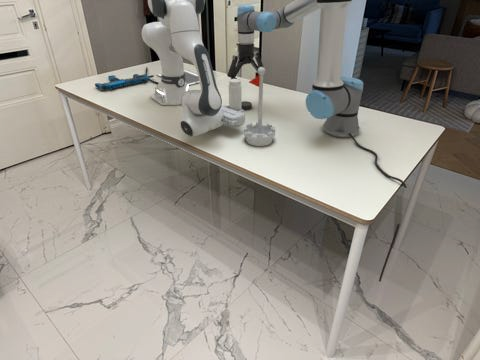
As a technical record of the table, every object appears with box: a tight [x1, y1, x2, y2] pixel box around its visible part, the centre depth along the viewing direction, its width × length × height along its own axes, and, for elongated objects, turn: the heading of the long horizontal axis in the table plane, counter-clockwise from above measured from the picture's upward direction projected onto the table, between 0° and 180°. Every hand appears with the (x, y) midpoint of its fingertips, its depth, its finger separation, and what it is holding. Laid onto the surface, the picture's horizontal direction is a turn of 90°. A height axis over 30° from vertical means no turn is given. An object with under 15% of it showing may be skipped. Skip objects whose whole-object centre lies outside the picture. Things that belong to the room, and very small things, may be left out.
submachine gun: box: [94, 73, 155, 91], centre depth 208 cm, size 34×4×25 cm
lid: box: [241, 100, 253, 111], centre depth 173 cm, size 7×7×2 cm
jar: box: [228, 78, 242, 127], centre depth 152 cm, size 6×6×20 cm
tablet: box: [156, 69, 200, 87], centre depth 217 cm, size 32×20×1 cm, turn 41°
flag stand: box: [243, 66, 276, 147], centre depth 134 cm, size 13×13×30 cm
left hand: (236, 108), depth 154 cm, fingers closed on jar, 6 cm apart
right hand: (246, 88), depth 167 cm, fingers open, 13 cm apart
